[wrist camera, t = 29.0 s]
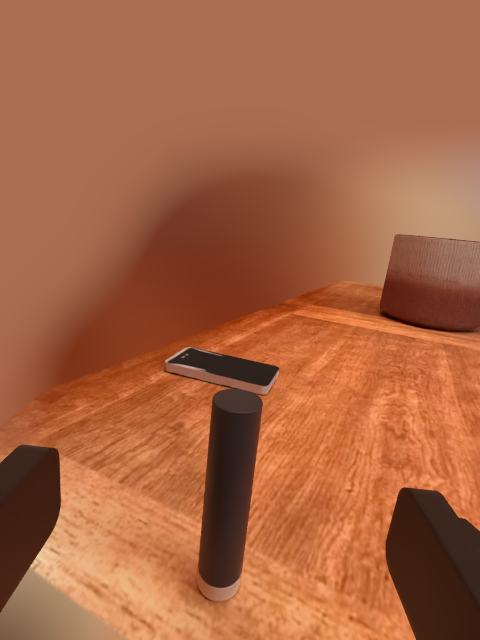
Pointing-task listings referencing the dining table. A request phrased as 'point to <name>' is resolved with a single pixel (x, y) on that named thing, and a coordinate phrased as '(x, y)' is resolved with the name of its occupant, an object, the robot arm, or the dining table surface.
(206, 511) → the dark grey cylinder
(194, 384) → the dining table surface
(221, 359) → the smartphone
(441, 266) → the planter
